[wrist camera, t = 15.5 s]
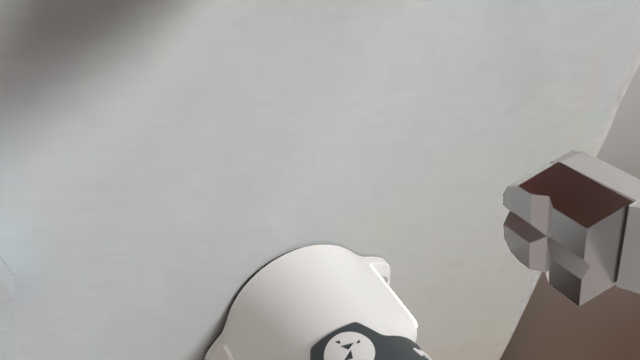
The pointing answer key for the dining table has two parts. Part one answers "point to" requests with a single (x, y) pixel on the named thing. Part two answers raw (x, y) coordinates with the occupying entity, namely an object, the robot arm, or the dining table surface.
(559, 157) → the robot arm
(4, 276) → the dock
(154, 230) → the dining table surface
